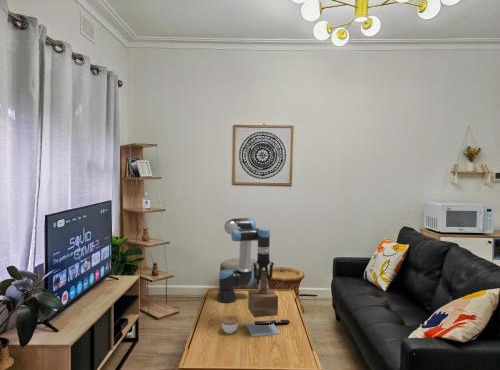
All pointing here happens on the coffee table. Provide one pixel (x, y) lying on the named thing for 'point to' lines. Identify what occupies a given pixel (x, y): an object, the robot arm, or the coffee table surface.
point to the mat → (261, 329)
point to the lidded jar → (229, 324)
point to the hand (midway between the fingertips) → (262, 289)
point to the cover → (263, 299)
